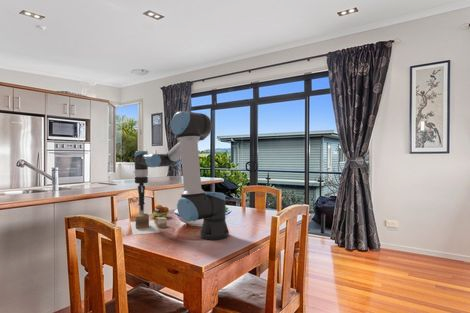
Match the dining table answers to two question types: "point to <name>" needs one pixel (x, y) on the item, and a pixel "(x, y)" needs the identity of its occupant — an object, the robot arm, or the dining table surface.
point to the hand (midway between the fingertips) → (141, 215)
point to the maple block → (161, 222)
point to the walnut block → (142, 221)
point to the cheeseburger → (160, 212)
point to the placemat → (151, 228)
